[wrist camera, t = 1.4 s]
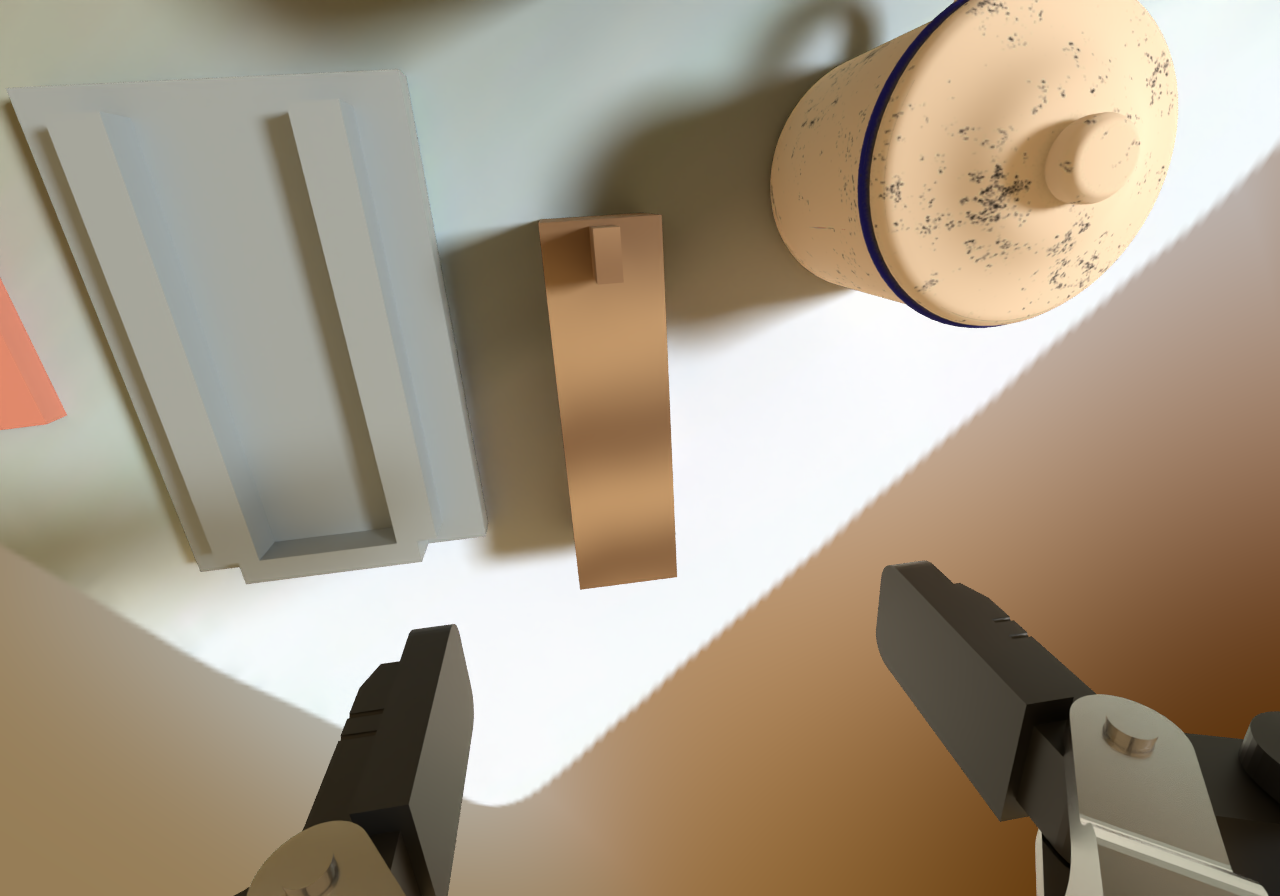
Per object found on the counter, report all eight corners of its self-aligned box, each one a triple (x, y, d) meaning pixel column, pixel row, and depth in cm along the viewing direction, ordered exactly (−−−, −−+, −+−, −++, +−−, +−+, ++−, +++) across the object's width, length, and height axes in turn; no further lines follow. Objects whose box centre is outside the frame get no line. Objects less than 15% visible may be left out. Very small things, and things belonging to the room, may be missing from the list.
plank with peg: (540, 219, 24) (537, 224, 18) (640, 212, 24) (673, 216, 18) (575, 528, 29) (582, 620, 23) (656, 519, 30) (687, 606, 23)
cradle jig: (35, 94, 20) (-37, 78, 18) (406, 76, 21) (387, 59, 19) (214, 556, 27) (180, 592, 25) (488, 523, 28) (482, 554, 26)
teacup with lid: (917, 314, 27) (1153, 385, 17) (731, 260, 25) (863, 301, 15) (1046, 10, 23) (1462, -153, 13) (838, -83, 21) (1125, -368, 11)
